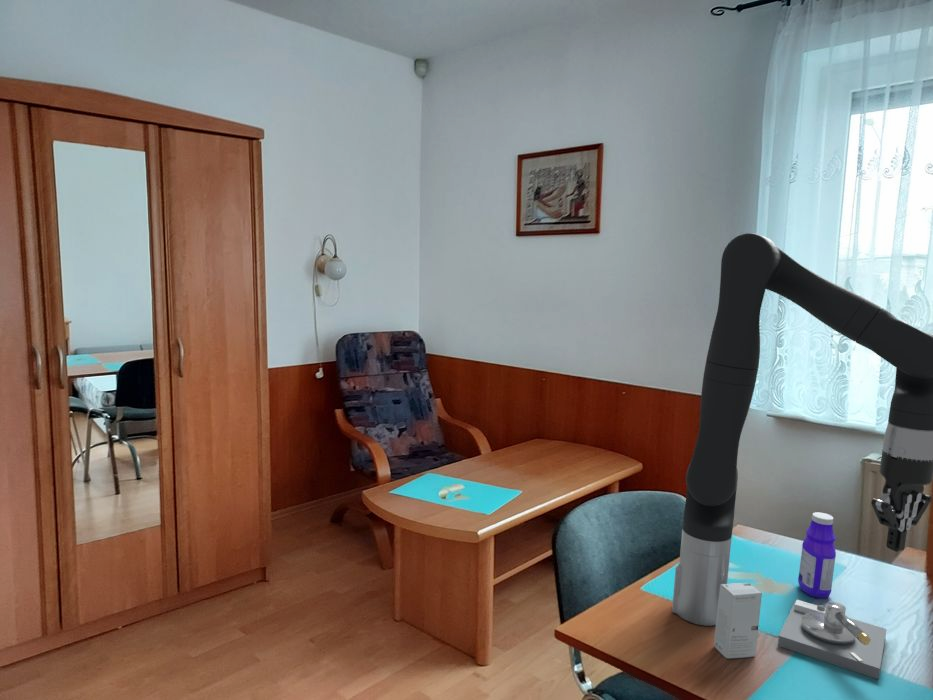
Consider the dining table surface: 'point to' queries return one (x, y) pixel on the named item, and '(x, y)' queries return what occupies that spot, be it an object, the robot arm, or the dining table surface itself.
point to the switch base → (845, 656)
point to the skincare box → (737, 620)
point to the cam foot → (833, 626)
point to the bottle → (818, 557)
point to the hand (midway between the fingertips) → (894, 549)
